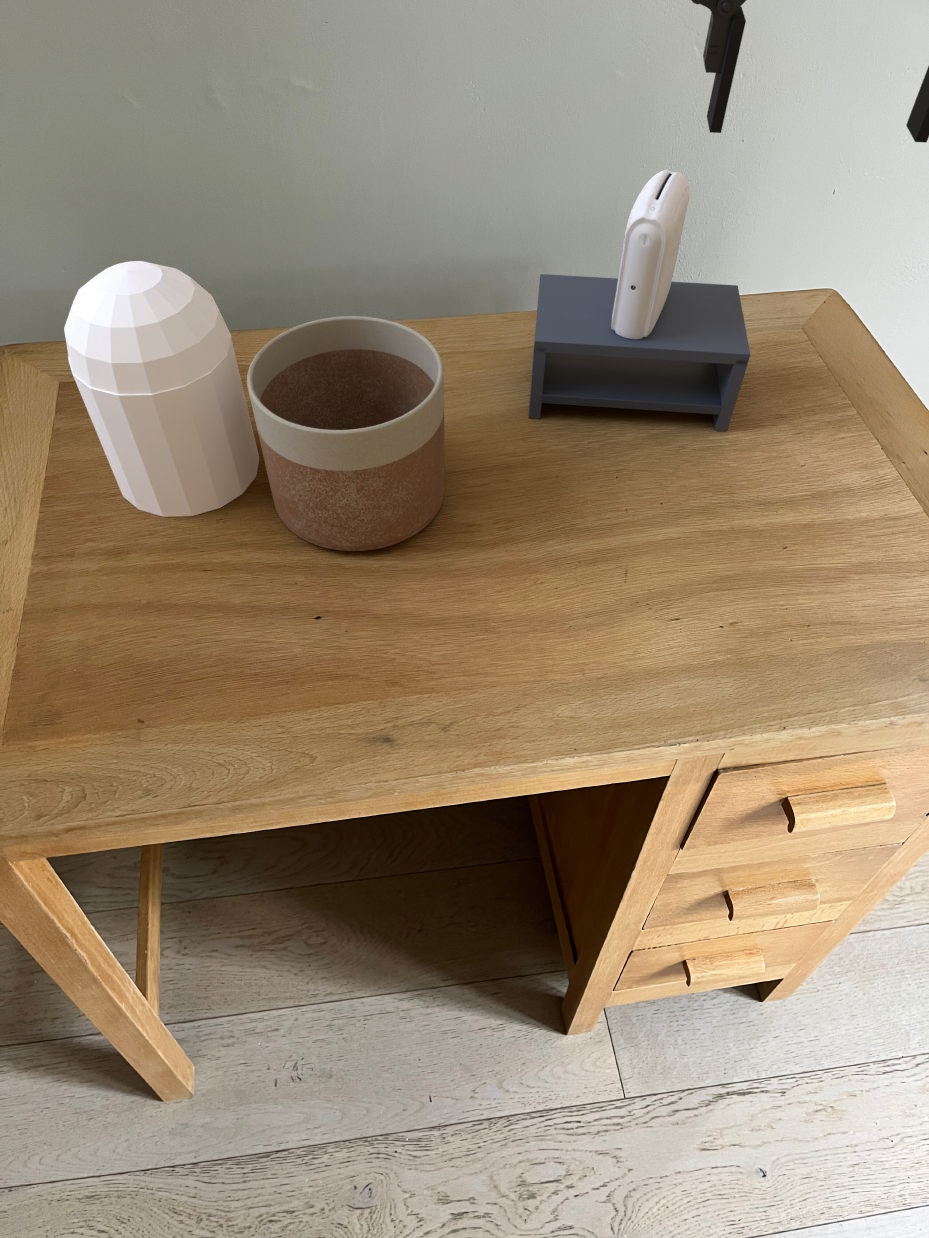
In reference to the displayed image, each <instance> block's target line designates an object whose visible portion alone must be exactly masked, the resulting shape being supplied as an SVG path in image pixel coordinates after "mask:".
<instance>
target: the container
mask: <svg viewBox="0 0 929 1238" xmlns="http://www.w3.org/2000/svg"><path fill="white" fill-rule="evenodd" d="M63 331H64V336H65V344H66V350H67V360H68V364H69V366H70V367H69V368H70V370H71V374H72V378H73V379H74V381H75V384H76V386H77V389H78V391H79V393H80V396H81V399H82V401H83V403H84V405H85V408H86V411H87V413H88V416H89V418H90V421H91V422H92V425H93V427H94V430H95V433H96V435H97V437H98V440H99V443H100V445H101V447H102V449H103V451H104V455H105V456H106V459H107V461H108V464H109V466H110V469H111V471H112V473H113V476H114V479H115V481H116V483H117V486H118V488H119V491H120V493H121V495H122V497H123V498H124V499H125V500H127V502H129V503H130V504H131V505H132V506H134V507H135V508H136V509H137V510H139V511H142V512H145V513H149V514H151V515H155V516H159V517H163V518H166V517H167V518H169V517H194V516H198V515H200V514H205V513H208V512H210V511H215V510H218V509H221V508H222V507H224V506H225V505H227V504H229V503H230V502H233V501H234V500H235V499H237V498H238V497H240V496H242V495H243V494H244V493H245V492H246V491H247V489H248V488H249V486H250V485H251V484H252V483H253V481H254V480H255V479H256V478H257V474H258V469H259V462H260V456H259V450H258V446H257V443H256V438H255V432H254V429H253V425H252V421H251V417H250V416H251V415H250V412H249V408H248V404H247V400H246V395H245V391H244V386H243V382H242V378H241V373H240V370H239V369H240V368H239V366H238V361H237V356H236V354H235V348H234V344H233V340H232V333H231V332H230V330H229V327H228V326H227V323H226V322H225V319H224V317H223V315H222V314H221V311H220V309H219V307H218V305H217V303H216V302H215V299H214V296H213V295H212V294H211V293H210V292H208V291H207V290H206V289H205V288H204V287H202V285H200V284H199V283H198V282H196V281H195V280H194V279H193V278H192V277H191V276H190V275H187V274H186V273H184V272H183V271H182V270H180V269H178V268H177V267H176V268H175V267H170V266H166V265H162V264H157V263H152V262H148V261H143V260H137V261H136V260H132V261H131V260H130V261H129V260H128V261H125V262H120V263H116V264H114V265H111V266H109V267H107V268H105V269H104V270H102V271H100V272H99V273H98V274H96V275H95V276H93V277H92V278H91V279H90V280H89V281H87V282H86V283H85V284H83V285H82V286H81V287H80V288H79V289H78V290H77V292H76V294H75V297H74V298H73V301H72V304H71V307H70V309H69V312H68V316H67V319H66V322H65V324H64V327H63Z"/></svg>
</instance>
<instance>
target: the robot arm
mask: <svg viewBox="0 0 929 1238" xmlns="http://www.w3.org/2000/svg"><path fill="white" fill-rule="evenodd" d="M690 1H691V2H692V3H693V4H695V5H701V6H703V7H705V8H707V9H708V10H709V11H710V18H709V23H708V27H707V29H708V30H707V34H706V40H705V43H704V49H703V54H702V58H703V59H702V60H703V64H704V70H705V73H709V74H715V75H714V79H713V84H712V88H711V93H710V99H709V103H708V108H707V113H706V119H707V125H708V131H709V133H714V134H721V133H722V130H723V125H724V121H725V117H726V113H727V108H728V104H729V98H730V95H731V89H732V85H733V81H734V76H735V72H736V68H737V64H738V63H737V62H738V58H739V52H740V50H741V45H742V41H743V36H744V31H745V28H746V27H745V26H746V22H747V20H746V17H745V13H744V11H743V7H742V6H743V5H744V3H745V2H747V0H690ZM905 126H906V128H907V129H908V132H909V134H910V136H911V137H912V139H913V141H914V142H915V143H928V140H929V65H928V66H927V69H926V71H925V74H924V77H923V79H922V82H921V85H920V87H919V91H918V92H917V95H916V98H915V101H914V103H913V106H912V109H911V111H910V114H909V117H908V120H907V122H906V125H905Z"/></svg>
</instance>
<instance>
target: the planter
mask: <svg viewBox="0 0 929 1238" xmlns="http://www.w3.org/2000/svg"><path fill="white" fill-rule="evenodd" d="M444 377H445V376H444V364H443V360H442V357H441V354H440V353H439V351H438V350H437V348H436V347H435V346H434V344H433V343H432V342H431V341H430V340H429V339H427V338H426V337H425V336H424V335H422V334H421V333H419V332H418V331H416V330H415V329H413V328H411V327H409V326H406V325H404V324H402V323H399V322H396V321H392V320H388V319H384V318H379V317H373V316H361V315H346V316H345V315H344V316H343V315H342V316H332V317H325V318H320V319H315V320H312V321H308V322H305V323H302V324H298V325H297V326H296V325H295V326H293V327H292V328H289V329H287V330H285V331H283V332H281V333H280V334H277V336H275V337H273V338H272V339H270V340H269V341H268V342H267V343H265V344H264V345H263V346H262V347H261V348H260V350H258V351H257V353H256V354H255V356H254V357H253V359H252V360H251V362H250V364H249V367H248V370H247V375H246V386H247V391H248V396H249V400H250V403H251V408H252V413H253V417H254V421H255V422H254V423H255V426H256V431H257V434H258V439H259V444H260V448H261V452H262V456H263V461H264V465H265V469H266V474H267V478H268V482H269V487H270V492H271V496H272V500H273V504H274V505H273V506H274V508H275V511H276V513H277V515H278V517H279V518H280V520H281V521H282V523H283V524H284V525H285V526H286V527H287V528H288V530H289V531H291V532H292V533H293V534H295V535H296V536H297V537H298V538H300V539H303V540H304V541H306V542H308V543H310V544H313V545H315V546H318V547H322V548H325V549H329V550H334V551H342V552H343V551H344V552H365V551H373V550H380V549H383V548H387V547H391V546H393V545H396V544H399V543H401V542H403V541H405V540H408V539H410V538H411V537H413V536H415V535H417V534H418V533H419V532H420V531H422V530H423V529H425V528H426V527H427V526H428V525H429V524H430V523H431V522H432V521H433V520H434V519H435V517H436V515H437V514H438V513H439V511H440V509H441V507H442V505H443V502H444V499H445V496H446V448H445V447H446V446H445V445H446V444H445V443H446V442H445V388H444V387H445V384H444V383H445V382H444V381H445V380H444V379H445V378H444Z"/></svg>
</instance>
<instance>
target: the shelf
mask: <svg viewBox="0 0 929 1238" xmlns="http://www.w3.org/2000/svg"><path fill="white" fill-rule="evenodd" d="M617 283H618V277H616V278H615V277H599V276H581V275H579V276H578V275H563V274H549V273H548V274H547V273H545V274H544V273H540V274H539V282H538V284H539V285H538V292H537V293H538V294H537V305H536V306H537V307H536V319H535V331H534V339H533V340H534V342H533V355H532V367H531V379H530V390H529V391H530V393H529V405H528V419H535V420H536V419H537V420H540V419H541V414H542V404H554V405H568V406H581V407H598V408H613V409H626V410H627V409H629V410H643V411H644V410H645V411H657V412H658V411H659V412H672V413H673V412H674V413H689V414H701V415H703V414H705V415H712V418H713V424H714V425H713V426H714V431H715V432H728V429H729V426H730V422H731V419H732V416H733V413H734V410H735V407H736V404H737V401H738V396H739V393H740V390H741V388H742V387H741V386H742V385H743V384H742V383H743V380H744V378H745V374H746V371H747V367H748V364H749V361H750V358H751V349H750V344H749V338H748V333H747V329H746V323H745V318H744V311H743V307H742V306H743V305H742V301H741V296H740V290H739V285H737V284H720V283H719V284H717V283H705V282H704V283H702V282H701V283H700V282H685V281H672V282H671V286H670V290H669V293H668V295H667V298H666V301H665V304H664V306H663V308H662V311H661V313H660V315H659V317H658V320H657V322H656V324H655V326H654V328H653V329H652V331H651V333H650V334H649V335H648V336H647V337H643V338H642V339H628V338H624V337H622V336H619V335H618V334H616V333H615V330H612V328H611V323H612V314H613V308H614V302H615V296H616V290H617Z"/></svg>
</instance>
